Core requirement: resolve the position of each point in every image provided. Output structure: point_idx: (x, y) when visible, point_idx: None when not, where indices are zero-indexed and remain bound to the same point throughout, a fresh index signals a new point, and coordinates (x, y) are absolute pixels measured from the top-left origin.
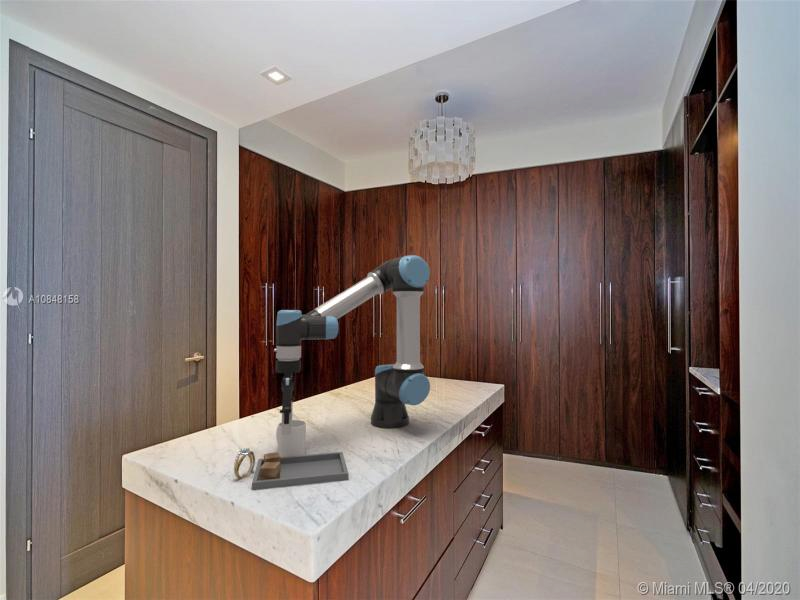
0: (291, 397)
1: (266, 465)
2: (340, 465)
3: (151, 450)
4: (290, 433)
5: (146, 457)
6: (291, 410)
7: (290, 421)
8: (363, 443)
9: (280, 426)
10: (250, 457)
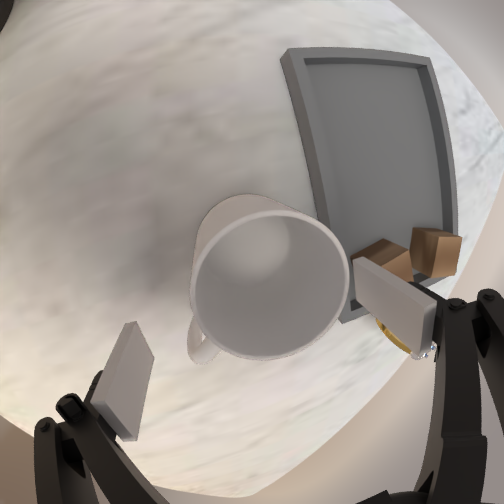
0: (103, 432)
1: (447, 265)
2: (349, 65)
3: (219, 492)
4: (365, 260)
5: (251, 486)
6: (123, 363)
7: (401, 282)
8: (117, 22)
9: (322, 334)
10: (392, 333)
